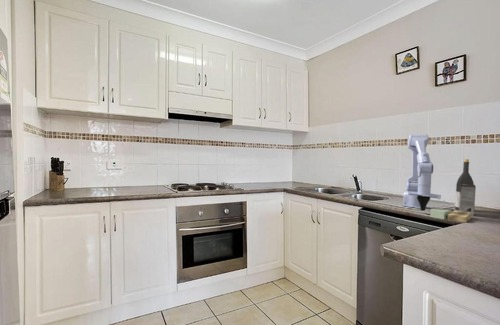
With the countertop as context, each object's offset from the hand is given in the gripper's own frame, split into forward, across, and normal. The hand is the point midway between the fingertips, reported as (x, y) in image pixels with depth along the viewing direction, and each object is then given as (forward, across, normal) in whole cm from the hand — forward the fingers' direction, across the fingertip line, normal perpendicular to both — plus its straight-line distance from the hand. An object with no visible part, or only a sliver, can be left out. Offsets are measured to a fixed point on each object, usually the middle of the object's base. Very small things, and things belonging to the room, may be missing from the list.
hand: (423, 210), depth 138 cm
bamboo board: (+2, +15, +4) cm, 16 cm away
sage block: (+2, +8, -1) cm, 8 cm away
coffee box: (+2, +15, +21) cm, 26 cm away
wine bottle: (+2, +12, +34) cm, 36 cm away
